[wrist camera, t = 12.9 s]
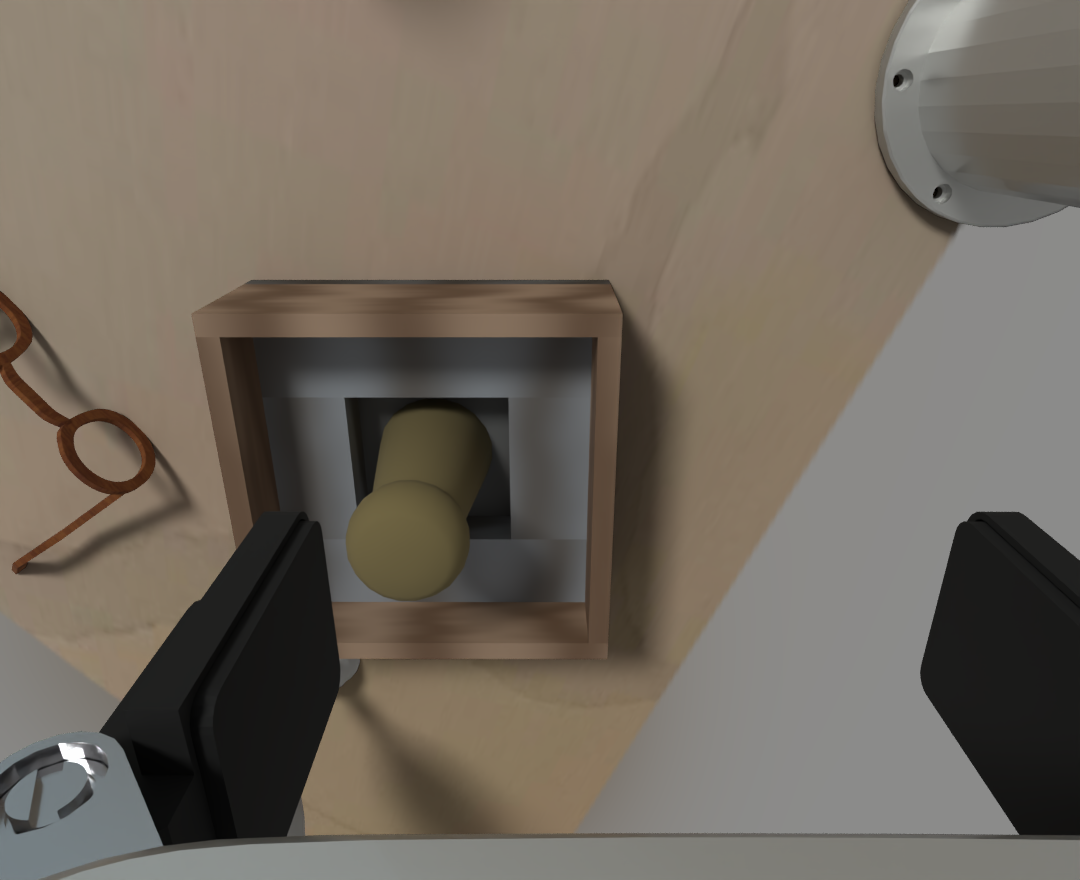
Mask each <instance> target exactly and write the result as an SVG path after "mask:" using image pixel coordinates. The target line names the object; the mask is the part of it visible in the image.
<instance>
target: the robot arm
mask: <svg viewBox="0 0 1080 880" xmlns="http://www.w3.org/2000/svg"><path fill="white" fill-rule="evenodd" d="M895 75H898V77H899V83H898V85H897V86H896V87H894V86H893V79H894V76H895ZM875 123H876V130H877V136H878V143H879V146H880V149H881V151H882V154H883V157H884V159H885V162H886V165H887V167H888V169H889V171H890V172H891V174H892V175H893V177H894V178H895V180H896V182H897V183H898V185H899V186H900V188H901V189H902V190H903V191H904V192H905V193H907V194H908V195H909V196H910V197H911V198H912V199H913V200H914V201H915V202H916V203H917V204H918V205H920V206H922V207H923V208H925V209H927V210H928V211H930V212H932V213H933V214H935V215H937V216H939V217H943V218H946V219H949V220H952V221H955V222H958V223H962V224H968V225H973V226H978V227H1007V226H1013V225H1018V224H1023V223H1029V222H1033V221H1035V220H1038V219H1041V218H1043V217H1046V216H1049V215H1051V214H1054V213H1057V212H1059V211H1061V210H1062V209H1064V208H1066V207H1068V206H1074V207H1079V208H1080V0H909V1H908V3H907V5H906V7H905V8H904V10H903V12H902V14H901V15H900V17H899V19H898V21H897V22H896V24H895V26H894V28H893V30H892V32H891V35H890V38H889V40H888V43H887V46H886V48H885V51H884V54H883V56H882V59H881V64H880V69H879V74H878V78H877V83H876V88H875ZM935 188H938V193H937V195H936V196H935V197H933V192H934V190H935ZM920 674H921V682H922V686H923V689H924V691H925V693H926V695H927V696H928V698H929V699H930V701H931V702H932V704H933V706H934V707H935V709H936V710H937V711H938V713H939V714H940V716H941V718H942V719H943V721H944V722H945V724H946V725H947V727H948V728H949V729H950V731H951V733H952V734H953V736H954V737H955V739H956V740H957V742H958V743H959V745H960V746H961V748H962V749H963V751H964V752H965V754H966V755H967V757H968V758H969V760H970V761H971V763H972V764H973V766H974V767H975V769H976V770H977V772H978V773H979V775H980V776H981V778H982V779H983V781H984V782H985V784H986V785H987V787H988V788H989V790H990V791H991V793H992V794H993V796H994V797H995V799H996V800H997V802H998V803H999V805H1000V806H1001V808H1002V809H1003V811H1004V812H1005V814H1006V815H1007V817H1008V818H1009V820H1010V821H1011V823H1012V824H1013V826H1014V827H1015V829H1016V830H1017V832H1018V833H1019V835H965V834H963V835H962V834H960V835H958V834H766V833H761V834H758V833H757V834H756V833H751V834H750V833H749V834H748V833H747V834H746V833H741V834H740V833H736V834H735V833H729V834H728V833H714V834H713V833H708V834H707V833H701V834H700V833H694V834H693V833H609V834H608V833H607V834H605V833H601V834H600V833H599V834H598V833H596V834H595V833H594V834H592V833H590V834H373V835H313V836H289V837H287V834H288V831H289V829H290V826H291V823H292V820H293V817H294V815H295V812H296V809H297V806H298V803H299V801H300V798H301V795H302V792H303V789H304V786H305V784H306V781H307V778H308V775H309V772H310V770H311V767H312V764H313V761H314V758H315V756H316V753H317V750H318V747H319V744H320V741H321V739H322V736H323V733H324V730H325V727H326V725H327V722H328V719H329V716H330V713H331V711H332V708H333V705H334V702H335V699H336V696H337V694H338V690H339V685H340V676H341V669H340V660H339V652H338V645H337V638H336V630H335V623H334V616H333V608H332V601H331V593H330V586H329V579H328V571H327V564H326V557H325V549H324V542H323V535H322V529H321V525H320V523H319V522H318V521H309V518H308V516H307V514H306V513H305V512H304V511H266V512H264V513H262V514H261V516H260V517H259V518H258V520H257V521H256V523H255V524H254V526H253V527H252V528H251V530H250V531H249V533H248V534H247V535H246V537H245V538H244V540H243V541H242V542H241V544H240V545H239V547H238V548H237V550H236V551H235V552H234V554H233V555H232V557H231V558H230V559H229V561H228V562H227V564H226V565H225V567H224V568H223V569H222V571H221V572H220V574H219V575H218V576H217V578H216V579H215V581H214V582H213V583H212V585H211V586H210V588H209V589H208V591H207V592H206V593H205V595H204V596H203V598H202V599H201V600H199V601H196V602H194V603H193V604H192V605H191V606H190V607H189V608H188V610H187V611H186V612H185V614H184V615H183V617H182V618H181V619H180V621H179V622H178V623H177V625H176V626H175V628H174V629H173V630H172V632H171V633H170V635H169V636H168V637H167V639H166V640H165V641H164V643H163V644H162V646H161V647H160V648H159V650H158V651H157V653H156V654H155V655H154V657H153V658H152V660H151V661H150V662H149V664H148V665H147V666H146V668H145V669H144V671H143V672H142V673H141V675H140V676H139V678H138V679H137V680H136V682H135V683H134V684H133V686H132V687H131V689H130V690H129V691H128V693H127V694H126V696H125V697H124V698H123V700H122V701H121V703H120V704H119V705H118V707H117V708H116V709H115V711H114V712H113V714H112V715H111V716H110V718H109V719H108V721H107V722H106V723H105V725H104V726H103V727H102V729H101V730H100V732H99V733H97V732H82V731H80V732H73V733H67V734H60V735H56V736H53V737H50V738H47V739H44V740H41V741H38V742H35V743H33V744H31V745H29V746H27V747H25V748H23V749H21V750H19V751H17V752H16V753H13V754H12V755H10V756H8V757H7V758H6V759H4V760H3V761H1V762H0V880H1080V560H1078V559H1077V558H1076V557H1075V556H1073V555H1072V554H1071V553H1070V552H1069V551H1067V550H1066V549H1065V548H1064V547H1063V546H1061V545H1060V544H1059V543H1057V541H1055V540H1054V539H1053V538H1052V537H1050V536H1049V535H1048V534H1047V533H1045V532H1044V531H1043V530H1042V529H1040V528H1039V527H1038V526H1037V525H1036V524H1035V523H1033V522H1032V521H1031V520H1030V519H1029V518H1027V517H1026V516H1025V515H1023V514H1021V513H1019V512H976V513H974V514H972V515H971V516H970V518H969V519H968V521H967V522H962V523H960V524H959V526H958V527H957V530H956V532H955V536H954V540H953V544H952V547H951V551H950V555H949V559H948V563H947V567H946V571H945V575H944V579H943V583H942V586H941V590H940V594H939V598H938V602H937V606H936V610H935V614H934V618H933V622H932V625H931V629H930V633H929V637H928V641H927V645H926V649H925V653H924V657H923V660H922V665H921V671H920Z"/></svg>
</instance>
